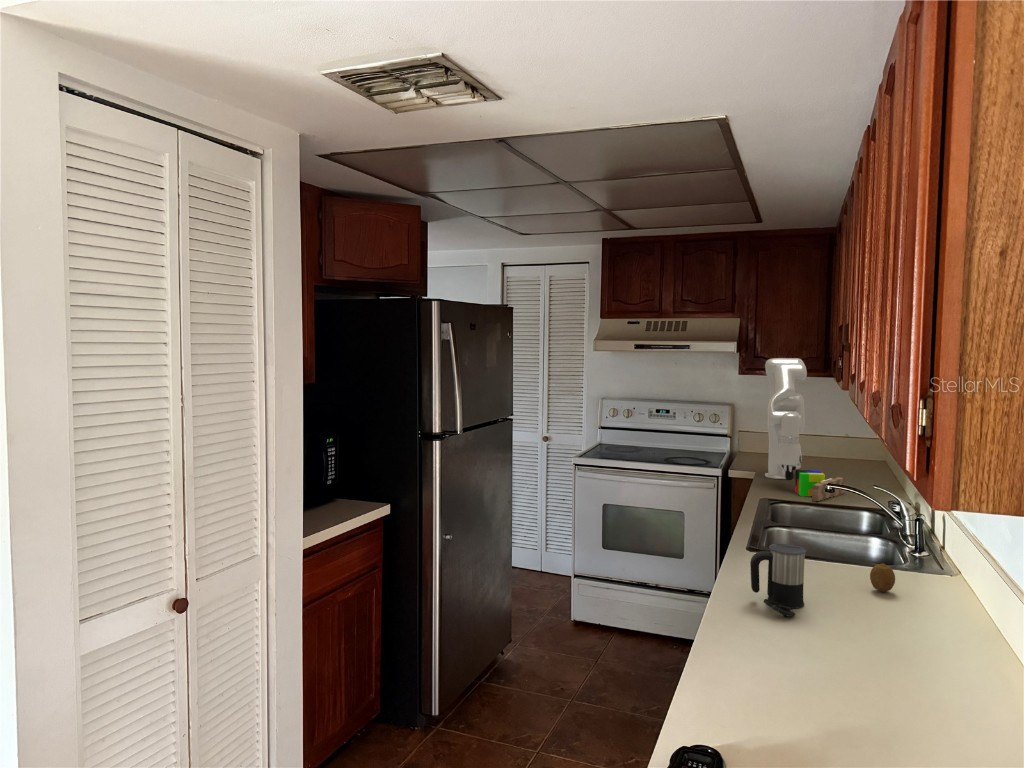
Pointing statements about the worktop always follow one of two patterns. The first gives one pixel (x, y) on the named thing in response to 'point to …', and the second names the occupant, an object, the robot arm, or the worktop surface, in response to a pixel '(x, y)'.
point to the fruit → (882, 577)
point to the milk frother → (781, 577)
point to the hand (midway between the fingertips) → (788, 479)
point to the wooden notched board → (820, 493)
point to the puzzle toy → (807, 481)
